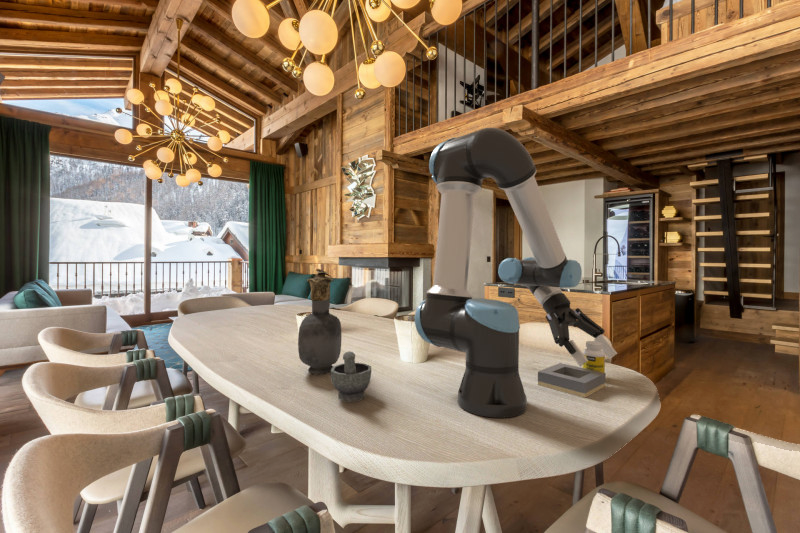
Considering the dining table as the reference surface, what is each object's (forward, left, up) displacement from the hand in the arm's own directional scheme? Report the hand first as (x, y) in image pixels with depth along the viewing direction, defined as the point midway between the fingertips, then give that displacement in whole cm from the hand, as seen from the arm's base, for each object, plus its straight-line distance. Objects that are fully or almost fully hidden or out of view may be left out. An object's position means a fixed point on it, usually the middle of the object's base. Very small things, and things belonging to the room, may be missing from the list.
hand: (599, 359), depth 103 cm
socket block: (-11, +2, -5) cm, 13 cm away
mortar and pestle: (-59, +32, -5) cm, 68 cm away
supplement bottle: (0, +1, -5) cm, 6 cm away
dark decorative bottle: (-53, +57, -5) cm, 78 cm away
